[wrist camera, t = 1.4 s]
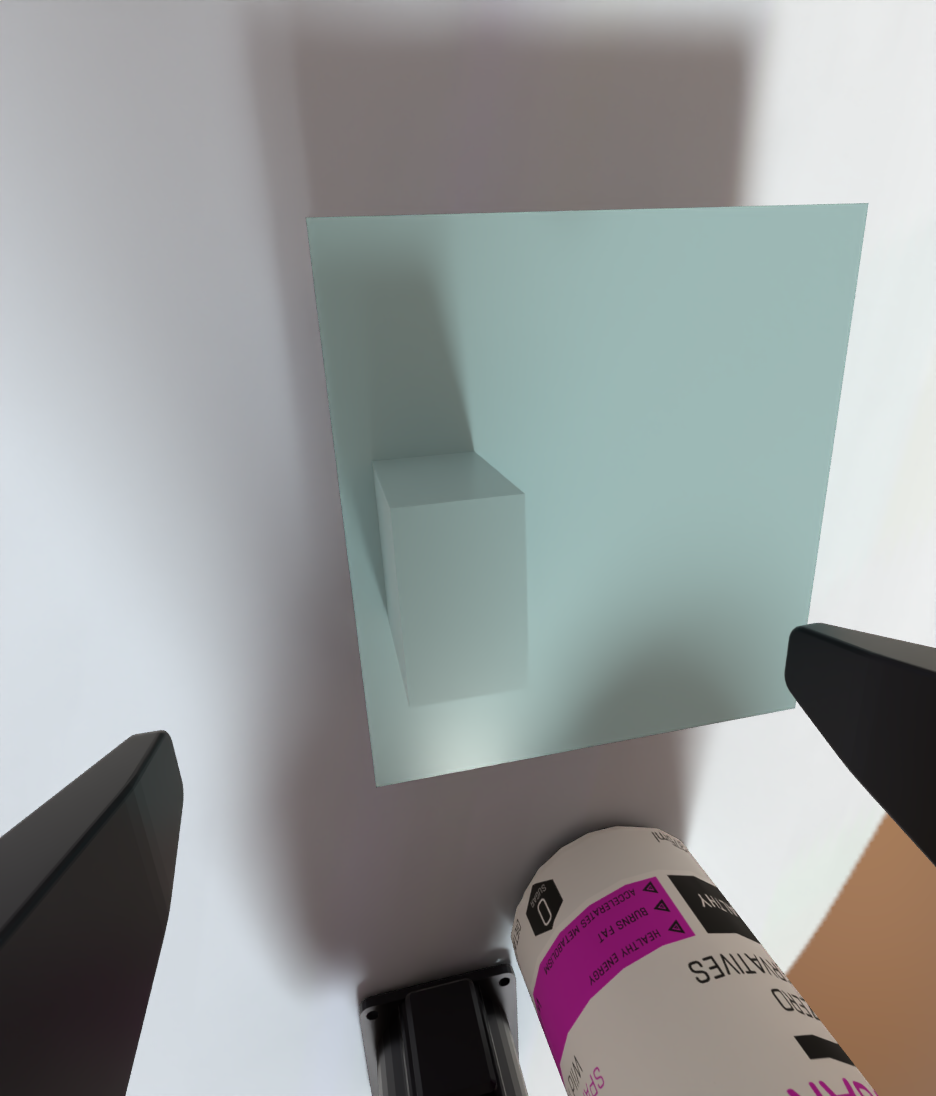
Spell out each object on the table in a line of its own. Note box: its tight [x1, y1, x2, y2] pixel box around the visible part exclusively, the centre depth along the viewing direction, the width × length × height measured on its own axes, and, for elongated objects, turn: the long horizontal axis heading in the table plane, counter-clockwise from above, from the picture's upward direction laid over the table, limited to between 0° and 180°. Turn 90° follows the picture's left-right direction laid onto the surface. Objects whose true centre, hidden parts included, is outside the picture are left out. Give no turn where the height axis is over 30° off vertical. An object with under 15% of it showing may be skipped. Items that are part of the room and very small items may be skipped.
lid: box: [306, 203, 868, 787], centre depth 15 cm, size 14×13×6 cm
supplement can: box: [511, 826, 878, 1096], centre depth 20 cm, size 8×8×15 cm
